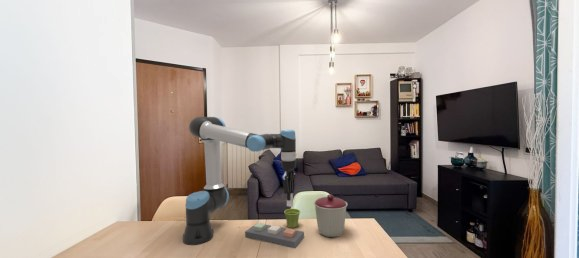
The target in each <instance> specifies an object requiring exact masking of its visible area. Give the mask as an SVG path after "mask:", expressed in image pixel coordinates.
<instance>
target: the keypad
mask: <svg viewBox="0 0 579 258" xmlns="http://www.w3.org/2000/svg"><path fill="white" fill-rule="evenodd" d="M256 224H257V223H255V224H254V225H256ZM254 225H252V226H251V227H249V228H248V229H247V230H245V231H244V237H245V238H248V239H253V240H256V241H261V242H266V243H269V244H270V243H271V244H275V245H279V246H284V247H288V248H291V249H292V248H293V249H296V248H297V247H298V245H299V244H300V243H301V242H302V240H303V239H304V238H305V231H302V230H297V229H295V230H296V235H295V236H294V237H293V238H290V237H285V236H283V232H284V231H285V230H286V229H287V228H288V227H287V228H286V227H281V231H280V232H279V233H278V234H277V235H275V234H270V233H268V228H270V227H271V226H272V225H270V224H266V229H264V230H263V231H262V232H260V231H255V230H253V226H254Z"/></svg>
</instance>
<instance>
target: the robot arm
mask: <svg viewBox="0 0 579 258" xmlns="http://www.w3.org/2000/svg"><path fill="white" fill-rule="evenodd" d="M188 129H189V133H190V134H191V135H192V136H193V137H195V138H198V139H200V140H201V142H202V143H203V144H204V161H205V162H204V163H205V165H204V166H205V183H206V184H205V186H203V190H199V191H194V192H193V193H190V194H188V195H187V197H186V198H185V220H186V221H185V222H186V223H185V224H186V225H185V227H184V228H185V229H184V233H183V235H182V242H183V243H184V244H186V245H191V246H193V245H195V246H196V245H200V244H204V243H207V242H209V241H210V240H212V239H213V237H214V230H213V227H212V223H211V221H210V220H211V218H210V214H213V212H216V211H217V210H219V209H222V208H223V207H225V206H226V205H227V203H228V201H229V199H230V195H229V191H228V190H227V188H226V186H225V184H224V183H222V182H223V181H222V163H221V162H222V161H221V159H222V158H221V142H222V143H227V144H231V145H234V146H237V147H243V148H246V149H248V150H249V151H251V152H261V151H265V150H269V149H280V151H281V152H280V155H281V156H280V159H281V165H280V166H281V169H283V175H281V180H282V186H283V193H284V194H286V207H289V208H292V207H293V205H294V204H293V203H294V201H293V200H294V199H293V198H294V196H293V194H295V188H296V175H297V171H295V169H296V168H297V160H296V159H297V153H296V151H297V149H296V148H297V147H296V145H297V144H296V143H297V142H296V139H297V138H296V131H295V130H294V129H282V130H281V131H280V132H279V133H262V134H257V133H253V132H250V131H249V132H248V131H244V130H241V129H236V128H231V127H226V124H225V122H224V121H223V119H222V118H219V117H215V116H197V117H194V118H192V120H191V121H190V122H189V125H188Z"/></svg>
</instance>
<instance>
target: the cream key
mask: <svg viewBox="0 0 579 258" xmlns="http://www.w3.org/2000/svg"><path fill="white" fill-rule="evenodd" d="M281 228H282V227H281V226H278V225H271V227H270V228H268V233H270V234H275V235H277V234H278V233H279V232H280V231H281Z"/></svg>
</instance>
